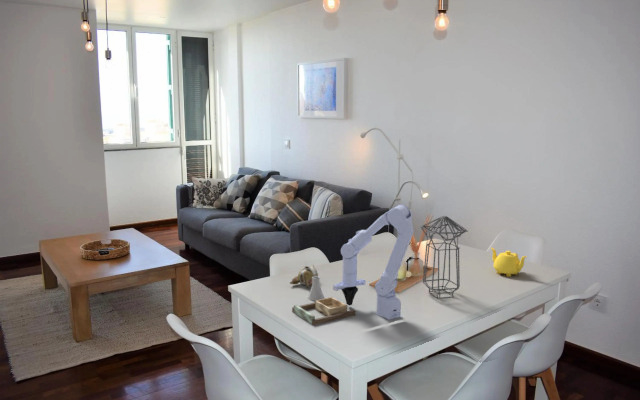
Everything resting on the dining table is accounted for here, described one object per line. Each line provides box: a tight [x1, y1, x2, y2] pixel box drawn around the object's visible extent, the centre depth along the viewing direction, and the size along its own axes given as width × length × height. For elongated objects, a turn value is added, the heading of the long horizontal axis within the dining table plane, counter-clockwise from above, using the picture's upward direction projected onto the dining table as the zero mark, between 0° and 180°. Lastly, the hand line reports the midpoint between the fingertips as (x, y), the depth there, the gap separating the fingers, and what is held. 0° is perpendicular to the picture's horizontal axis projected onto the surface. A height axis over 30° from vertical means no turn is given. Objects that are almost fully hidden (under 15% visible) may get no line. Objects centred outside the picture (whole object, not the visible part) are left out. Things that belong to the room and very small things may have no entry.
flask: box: [307, 276, 325, 302], centre depth 225 cm, size 7×7×10 cm
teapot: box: [490, 247, 528, 278], centre depth 264 cm, size 20×15×12 cm
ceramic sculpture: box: [289, 264, 319, 287], centre depth 246 cm, size 11×9×15 cm
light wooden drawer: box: [314, 296, 348, 317], centre depth 211 cm, size 11×8×4 cm
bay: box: [291, 301, 356, 326], centre depth 209 cm, size 16×19×4 cm
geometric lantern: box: [420, 215, 469, 299], centre depth 231 cm, size 16×16×35 cm
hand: (349, 304), depth 216 cm, fingers closed
